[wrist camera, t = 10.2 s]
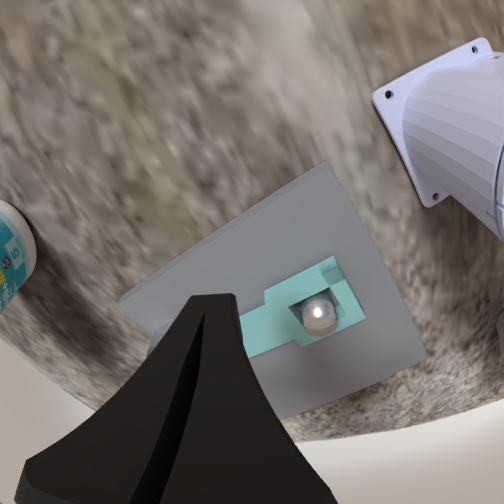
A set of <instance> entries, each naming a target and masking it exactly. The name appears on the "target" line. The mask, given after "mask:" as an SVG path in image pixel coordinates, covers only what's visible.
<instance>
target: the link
mask: <svg viewBox="0 0 504 504" xmlns="http://www.w3.org/2000/svg"><path fill="white" fill-rule="evenodd" d="M328 287H330V289H331V290H332V292H333V293H334V295H335V297H336V298H337V300H338V301H339V303H340V305H339V306H337V307H335V308H334V309H335V313H336V317H337V321H338V325H337V327H336V329H335V330H334V331H333V332H332V333H330V334H328V335H326V336H322V337H315V336H311V335H309V334H308V333H307V332H306V331H305V328H304V322H303V316H302V314H301V313H300V312H299V310H298V309H297V308H296V306H295V305H294V304H295V303H297V302H299V301H301V300H303V299H305V298H308V297H310V296H312V295H314V294H316V293H318V292H320V291H322V290H324V289H326V288H328ZM264 296H265V305H263V306H261V307H259V308H256V309H254V310H252V311H250V312H248V313H246V314H244V315H241V316H239V318H240V323H241V329H242V334H243V345H244V348H245V351H246V353H247V356H248V358H250V357H252V356H255V355H258V354H260V353H263V352H265V351H268V350H270V349H273V348H275V347H277V346H280V345H282V344H285V343H287V342H289V341H292V340H294V339H295V340H296V341H297V342H298V343H299V345H300V346H301V347H303V346H306V345H308V344H310V343H313V342H315V341H317V340H320V339H322V338H324V337H327V336H329V335H331V334H333V333H336V332H338V331H340V330H342V329H344V328H347V327H349V326H351V325H353V324H355V323H357V322H359V321H361V320H363V319H366V316H365V313H364V310H363V307H362V305H361V303H360V301H359V299H358V298H357V296H356V294H355V292H354V290H353V289H352V287H351V285H350V283H349V281H348V280H347V278H346V276H345V274H344V273H343V271H342V269H341V267H340V266H339V264H338V262H337V260H336V259H335V257H334V256H332V257H330V258H328V259H326V260H324V261H322V262H320V263H318V264H316V265H314V266H312V267H310V268H308V269H307V270H305V271H303V272H301V273H299V274H297V275H295V276H293V277H291V278H289V279H287V280H285V281H283V282H281V283H279V284H277V285H275V286H273V287H271V288H269V289H267V290H265V291H264Z"/></svg>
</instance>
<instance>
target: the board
mask: <svg viewBox="0 0 504 504" xmlns="http://www.w3.org/2000/svg"><path fill="white" fill-rule="evenodd" d="M332 256H334V257H335V259H336V260H337V262H338V264H339V266H340V267H341V269H342V271H343V273H344V274H345V276H346V278H347V280H348V281H349V283H350V285H351V287H352V289H353V290H354V292H355V294H356V296H357V298H358V299H359V301H360V303H361V305H362V307H363V310H364V313H365V316H366V319H363V320H361V321H359V322H357V323H355V324H353V325H351V326H349V327H347V328H344V329H342V330H340V331H338V332H336V333H333V334H331V335H329V336H327V337H324V338H322V339H320V340H317V341H315V342H313V343H310V344H308V345H306V346H303V347H301V346H300V345H299V343H298V342H297V341H296V340H295V339H294V340H292V341H289V342H287V343H285V344H282V345H280V346H277V347H275V348H273V349H270V350H268V351H265V352H263V353H260V354H258V355H255V356H252V357H250V358H248V359H249V361H250V363H251V366H252V368H253V371H254V373H255V375H256V377H257V380H258V382H259V384H260V386H261V388H262V390H263V392H264V394H265V396H266V398H267V400H268V401H269V403H270V405H271V407H272V409H273V410H274V412H275V414H276V416H277V417H278V419H279V420H281V419H284V418H287V417H290V416H293V415H296V414H299V413H302V412H305V411H308V410H310V409H313V408H316V407H319V406H321V405H324V404H327V403H329V402H332V401H334V400H337V399H339V398H342V397H344V396H347V395H349V394H352V393H354V392H356V391H359V390H361V389H363V388H366V387H368V386H370V385H372V384H374V383H377V382H379V381H381V380H383V379H385V378H387V377H390V376H392V375H394V374H396V373H398V372H400V371H402V370H404V369H406V368H408V367H410V366H412V365H414V364H416V363H417V362H419V361H421V360H423V359H425V358H427V357H428V356H427V353H426V351H425V348H424V346H423V344H422V341H421V339H420V337H419V334H418V332H417V330H416V327H415V325H414V323H413V321H412V318H411V316H410V314H409V312H408V309H407V307H406V305H405V303H404V301H403V299H402V297H401V294H400V292H399V290H398V288H397V286H396V284H395V282H394V280H393V278H392V276H391V274H390V272H389V270H388V268H387V266H386V264H385V262H384V260H383V258H382V256H381V254H380V252H379V251H378V249H377V247H376V245H375V243H374V241H373V239H372V237H371V236H370V234H369V232H368V230H367V228H366V226H365V225H364V223H363V221H362V219H361V218H360V216H359V214H358V212H357V210H356V209H355V207H354V205H353V204H352V202H351V200H350V198H349V197H348V195H347V193H346V192H345V190H344V188H343V187H342V185H341V183H340V182H339V180H338V178H337V177H336V175H335V174H334V172H333V170H332V169H331V167H330V166H329V164H328V163H327V161H326V160H325V161H323V162H322V163H320V164H318V165H317V166H315V167H314V168H312V169H310V170H309V171H307V172H306V173H304V174H302V175H301V176H299V177H298V178H296V179H294V180H293V181H291V182H290V183H288V184H287V185H285V186H283V187H282V188H280V189H279V190H277V191H276V192H274V193H272V194H271V195H269V196H268V197H266V198H265V199H263V200H262V201H260V202H259V203H257V204H255V205H254V206H252V207H251V208H249V209H248V210H246V211H245V212H243V213H242V214H240V215H239V216H237V217H236V218H234V219H233V220H231V221H230V222H228V223H227V224H225V225H223V226H222V227H220V228H219V229H217V230H216V231H214V232H213V233H212V234H210V235H209V236H207V237H206V238H204V239H203V240H201V241H200V242H198V243H197V244H195V245H194V246H192V247H191V248H189V249H188V250H186V251H185V252H183V253H182V254H181V255H179V256H178V257H176V258H175V259H173V260H172V261H170V262H169V263H167V264H166V265H165V266H163V267H162V268H160V269H159V270H157V271H156V272H155V273H153V274H152V275H150V276H149V277H147V278H146V279H145V280H143V281H142V282H140V283H139V284H137V285H136V286H135V287H133V288H132V289H130V290H129V291H128V292H126V293H125V294H123V295H122V297H121V299H120V301H119V303H118V305H117V306H118V307H119V308H120V309H121V310H122V311H123V312H124V313H125V314H126V315H128V316H129V317H130V318H131V319H132V320H133V321H134V322H136V323H137V324H138V325H139V326H140V327H141V328H143V329H144V330H145V331H146V332H147V333H149V334H150V335H151V336H152V337H153V334H154V331H155V329H157V328H159V327H161V326H162V325H164V324H166V323H168V322H170V321H171V320H175V319H176V317H177V316H178V314H179V313H180V311H181V310H182V308H183V307H184V305H185V304H186V302H187V301H188V299H189V298H190V297H191V296H192V295H206V294H221V293H232V294H234V295H235V296H236V301H237V306H238V312H239V316H241V315H244V314H246V313H248V312H250V311H252V310H254V309H256V308H259V307H261V306H263V305H265V296H264V291H265V290H267V289H269V288H271V287H273V286H275V285H277V284H279V283H281V282H283V281H285V280H287V279H289V278H291V277H293V276H295V275H297V274H299V273H301V272H303V271H305V270H307V269H308V268H310V267H312V266H314V265H316V264H318V263H320V262H322V261H324V260H326V259H328V258H330V257H332ZM328 289H329V291H330V294H331V298H332V301H333V305H334V308H335V307H337V306H339V305H340V303H339V301H338V300H337V298H336V297H335V295H334V293H333V292H332V290H331V289H330V287H328ZM294 305H295V306H296V308H297V309H298V310H299V312H300V313H301V314H302V308H301V301H299V302H297V303H295V304H294ZM302 316H303V315H302Z"/></svg>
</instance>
